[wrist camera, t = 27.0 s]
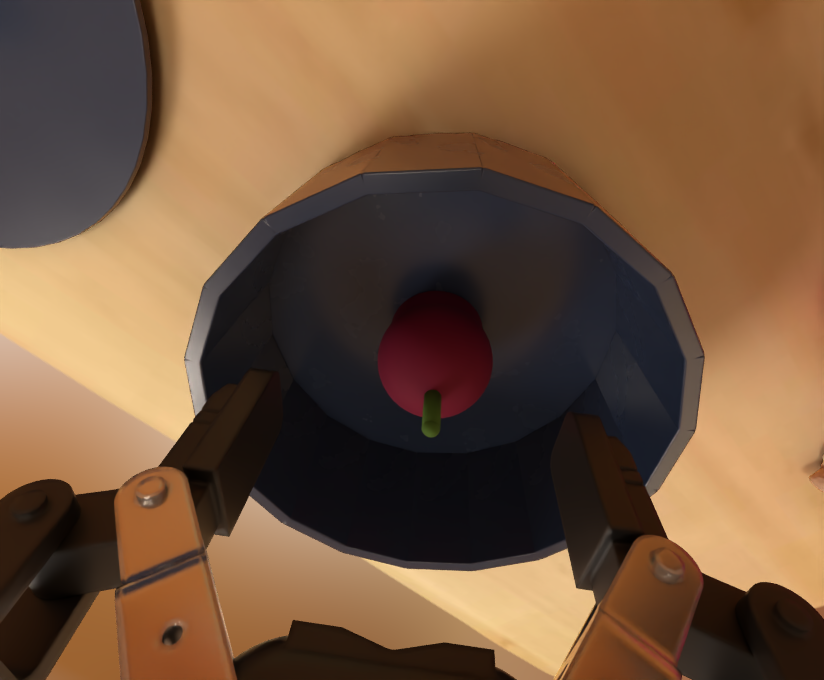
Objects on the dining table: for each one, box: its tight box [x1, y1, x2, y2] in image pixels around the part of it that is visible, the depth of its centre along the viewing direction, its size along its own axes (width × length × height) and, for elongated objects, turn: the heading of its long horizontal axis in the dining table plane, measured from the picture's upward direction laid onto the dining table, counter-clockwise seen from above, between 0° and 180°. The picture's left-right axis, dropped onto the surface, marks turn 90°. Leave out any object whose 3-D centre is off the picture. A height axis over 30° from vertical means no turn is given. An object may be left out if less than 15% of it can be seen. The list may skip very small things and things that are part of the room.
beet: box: [378, 291, 493, 437], centre depth 19 cm, size 5×5×7 cm
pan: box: [184, 133, 705, 571], centre depth 20 cm, size 18×18×8 cm
